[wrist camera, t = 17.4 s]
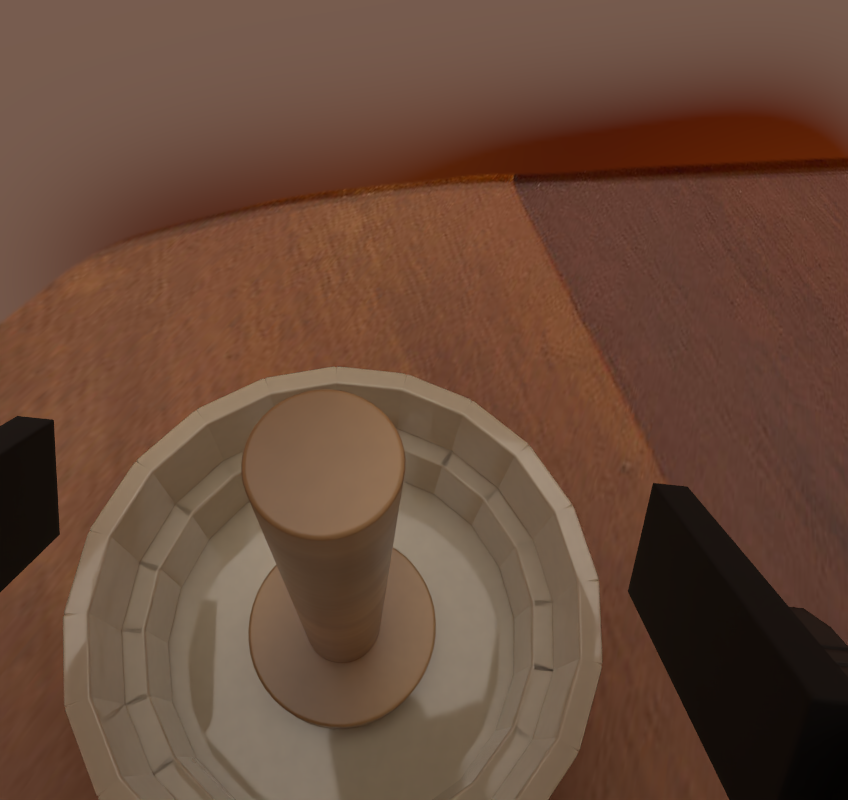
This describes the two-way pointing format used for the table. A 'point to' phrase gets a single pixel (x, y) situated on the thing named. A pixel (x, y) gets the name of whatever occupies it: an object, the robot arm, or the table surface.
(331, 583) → the masher
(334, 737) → the bowl
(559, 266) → the table surface
